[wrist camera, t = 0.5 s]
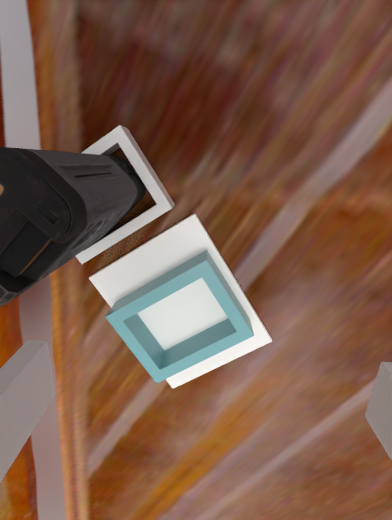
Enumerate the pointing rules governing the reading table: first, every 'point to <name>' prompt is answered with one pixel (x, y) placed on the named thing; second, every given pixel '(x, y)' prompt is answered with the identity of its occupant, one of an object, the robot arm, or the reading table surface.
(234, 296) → the dock
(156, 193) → the white rectangular frame
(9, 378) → the robot arm
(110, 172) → the electronic device
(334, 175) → the reading table surface
